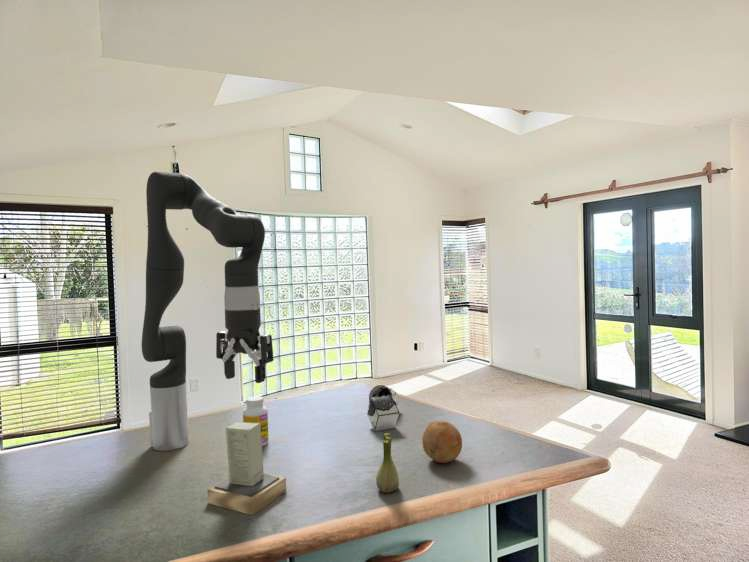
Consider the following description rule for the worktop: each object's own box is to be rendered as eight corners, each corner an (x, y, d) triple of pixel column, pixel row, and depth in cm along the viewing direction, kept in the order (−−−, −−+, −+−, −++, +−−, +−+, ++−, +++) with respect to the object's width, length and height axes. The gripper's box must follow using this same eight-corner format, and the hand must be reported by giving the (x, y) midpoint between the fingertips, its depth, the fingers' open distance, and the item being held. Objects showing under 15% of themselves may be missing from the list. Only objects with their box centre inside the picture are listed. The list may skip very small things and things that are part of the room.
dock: (207, 503, 103) (207, 487, 103) (244, 481, 113) (243, 466, 112) (252, 515, 97) (251, 498, 97) (286, 491, 107) (285, 475, 107)
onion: (467, 456, 123) (466, 417, 123) (456, 472, 114) (455, 429, 114) (430, 451, 127) (429, 413, 127) (417, 466, 118) (416, 425, 118)
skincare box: (264, 478, 106) (262, 423, 106) (252, 487, 102) (249, 429, 101) (240, 474, 108) (237, 420, 108) (227, 483, 104) (224, 427, 104)
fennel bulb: (390, 498, 103) (389, 441, 102) (370, 492, 105) (369, 437, 105) (403, 486, 108) (402, 432, 107) (384, 482, 110) (383, 429, 110)
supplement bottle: (262, 449, 132) (260, 402, 131) (239, 448, 133) (237, 401, 133) (272, 440, 138) (270, 395, 138) (250, 439, 140) (248, 394, 139)
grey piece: (369, 409, 165) (368, 379, 165) (398, 408, 165) (397, 379, 165) (365, 435, 140) (364, 401, 140) (400, 435, 140) (399, 400, 140)
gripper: (205, 307, 107) (208, 380, 108) (256, 309, 100) (258, 388, 101) (230, 304, 114) (232, 373, 115) (279, 306, 107) (281, 379, 108)
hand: (244, 380), depth 108 cm, fingers open, 8 cm apart
